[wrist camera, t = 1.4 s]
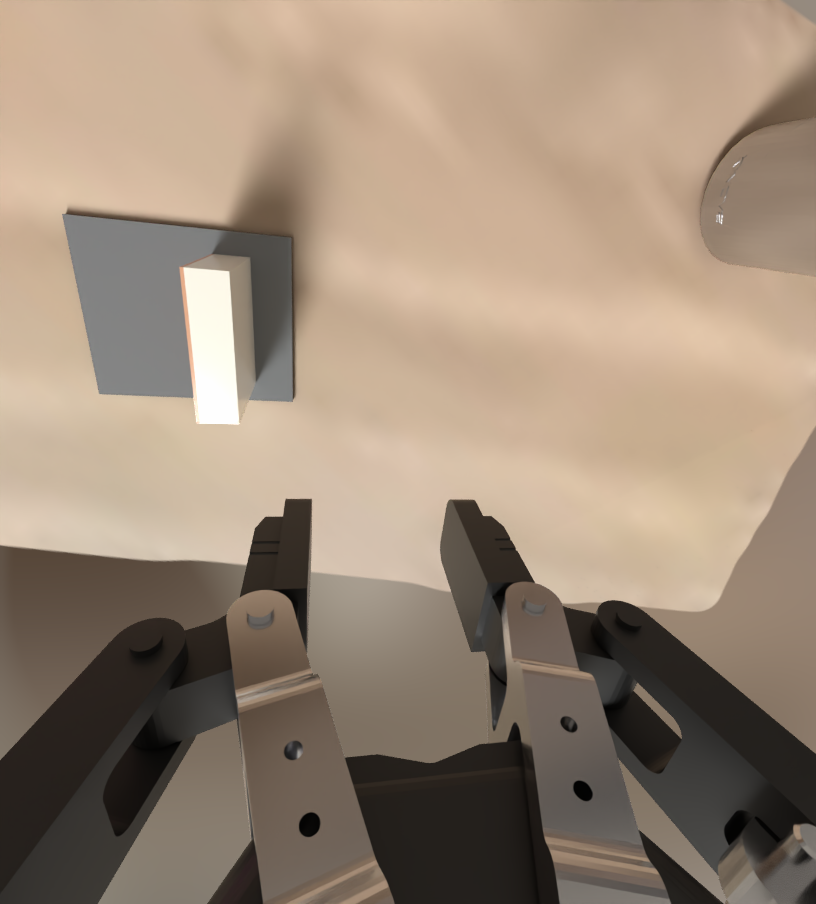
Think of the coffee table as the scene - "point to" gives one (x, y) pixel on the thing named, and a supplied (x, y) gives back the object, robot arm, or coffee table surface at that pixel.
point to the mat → (172, 303)
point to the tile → (219, 335)
